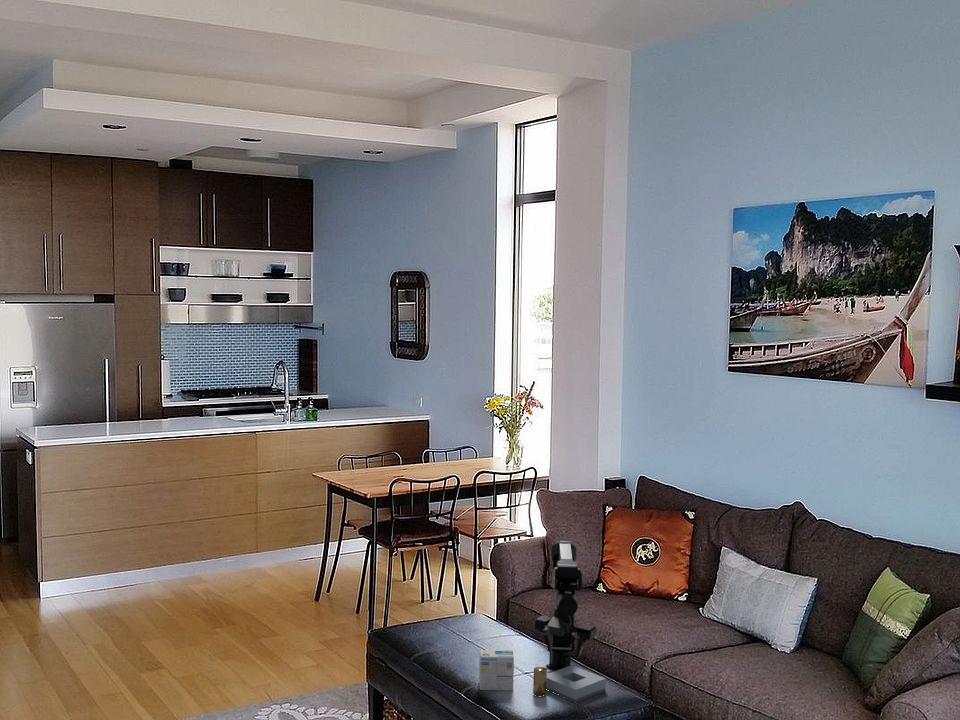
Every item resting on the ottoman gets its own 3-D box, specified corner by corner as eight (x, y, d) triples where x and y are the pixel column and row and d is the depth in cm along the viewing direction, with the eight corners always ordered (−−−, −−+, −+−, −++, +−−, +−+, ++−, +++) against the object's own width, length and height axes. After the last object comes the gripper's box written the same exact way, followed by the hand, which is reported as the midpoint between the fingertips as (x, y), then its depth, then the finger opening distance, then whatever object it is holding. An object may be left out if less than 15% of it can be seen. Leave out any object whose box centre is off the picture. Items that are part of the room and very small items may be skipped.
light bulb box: (512, 682, 325) (513, 649, 324) (513, 691, 318) (514, 657, 317) (478, 682, 324) (479, 648, 323) (479, 690, 318) (480, 656, 317)
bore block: (541, 688, 321) (541, 675, 320) (571, 677, 330) (571, 665, 330) (575, 702, 311) (575, 689, 310) (605, 690, 320) (605, 678, 320)
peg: (530, 694, 316) (531, 668, 315) (539, 691, 319) (540, 665, 318) (539, 698, 313) (540, 672, 312) (548, 695, 316) (549, 669, 315)
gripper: (526, 606, 311) (525, 657, 312) (584, 617, 302) (582, 669, 304) (542, 596, 321) (540, 645, 322) (598, 607, 312) (596, 657, 314)
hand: (564, 654), depth 315 cm, fingers open, 9 cm apart
